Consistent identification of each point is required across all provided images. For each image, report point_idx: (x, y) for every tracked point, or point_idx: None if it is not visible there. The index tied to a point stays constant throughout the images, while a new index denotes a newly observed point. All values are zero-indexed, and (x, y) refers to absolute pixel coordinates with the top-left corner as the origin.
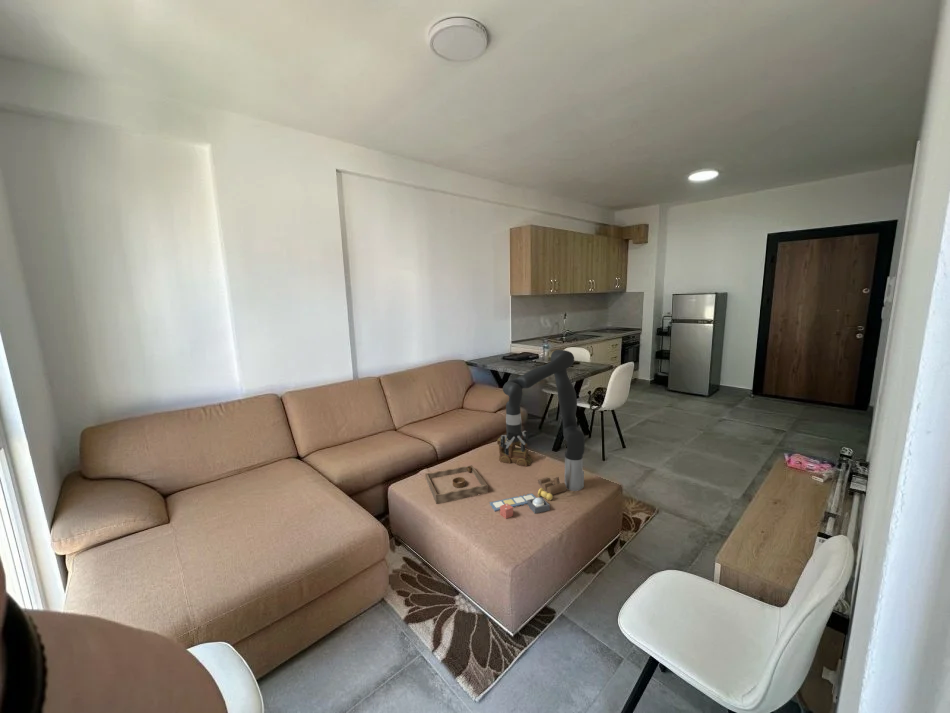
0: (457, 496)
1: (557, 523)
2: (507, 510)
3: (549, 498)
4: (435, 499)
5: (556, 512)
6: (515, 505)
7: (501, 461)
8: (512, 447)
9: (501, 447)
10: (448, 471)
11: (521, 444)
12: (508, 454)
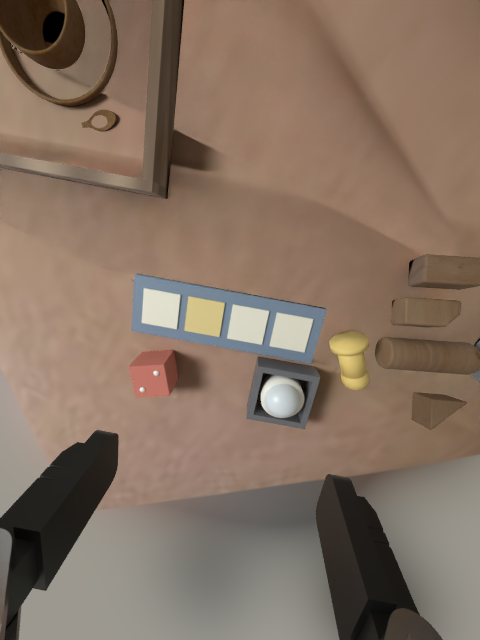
0: (6, 167)
1: (270, 469)
2: (145, 395)
3: (345, 385)
4: None
5: (310, 433)
6: (213, 345)
7: None
8: None
9: None
10: None
11: (356, 617)
12: (105, 484)
